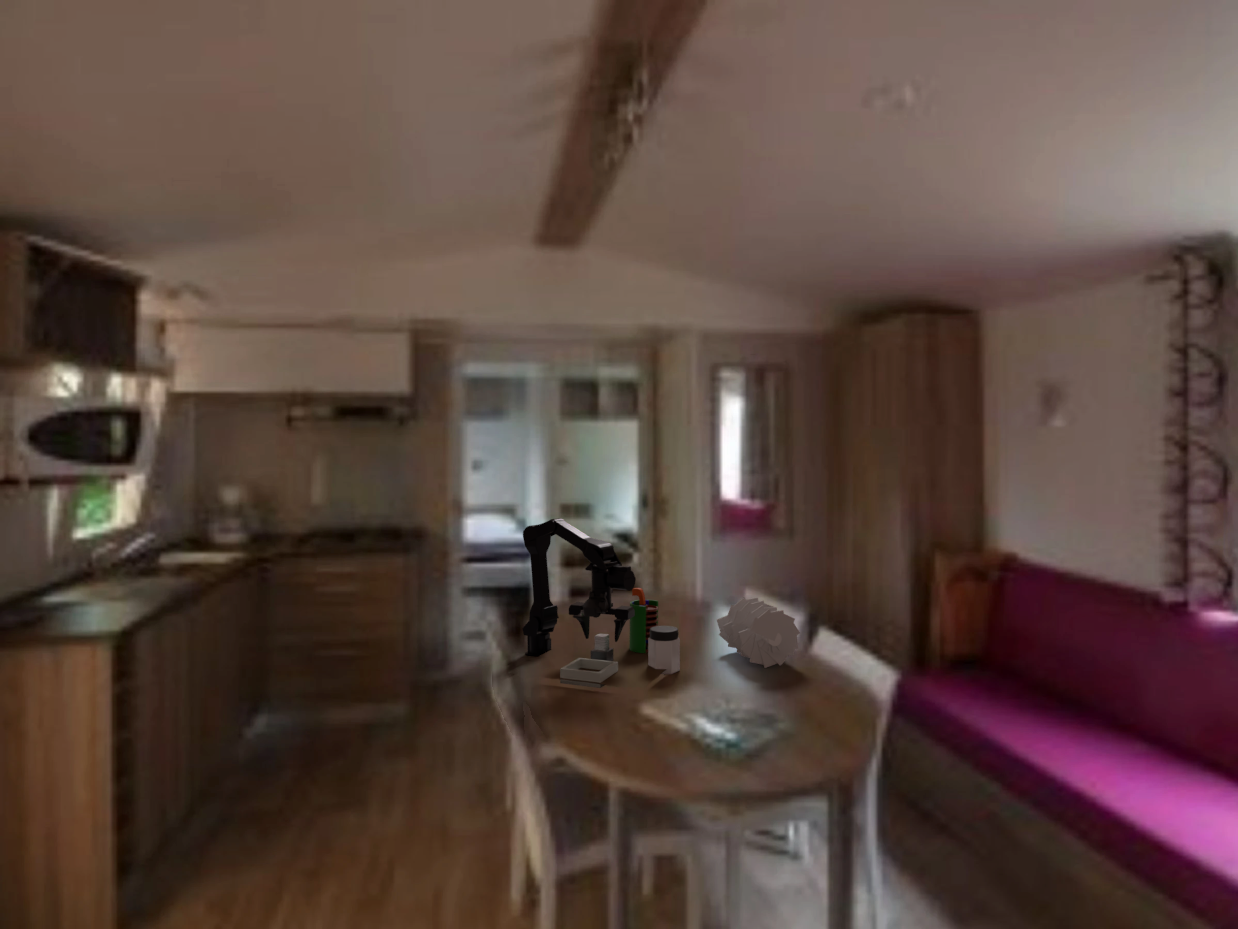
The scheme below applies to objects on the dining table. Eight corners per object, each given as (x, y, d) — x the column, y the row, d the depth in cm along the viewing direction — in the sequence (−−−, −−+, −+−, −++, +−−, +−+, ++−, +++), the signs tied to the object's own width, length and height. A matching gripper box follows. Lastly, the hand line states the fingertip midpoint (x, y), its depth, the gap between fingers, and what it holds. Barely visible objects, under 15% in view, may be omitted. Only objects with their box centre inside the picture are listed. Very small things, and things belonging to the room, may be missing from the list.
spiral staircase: (754, 661, 270) (790, 680, 246) (706, 640, 266) (737, 657, 242) (777, 607, 272) (814, 620, 248) (729, 585, 268) (762, 596, 244)
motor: (655, 658, 260) (655, 592, 259) (626, 657, 261) (626, 591, 260) (660, 650, 269) (660, 586, 269) (632, 648, 271) (632, 585, 270)
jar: (684, 672, 245) (684, 630, 244) (659, 676, 241) (659, 633, 241) (669, 664, 253) (668, 624, 252) (644, 668, 249) (644, 627, 249)
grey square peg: (590, 662, 250) (590, 636, 249) (597, 658, 254) (597, 632, 254) (606, 664, 248) (606, 638, 247) (613, 660, 252) (613, 634, 252)
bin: (560, 683, 235) (560, 668, 235) (579, 671, 246) (579, 657, 246) (600, 688, 231) (600, 673, 230) (618, 676, 242) (618, 661, 241)
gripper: (559, 589, 246) (560, 643, 247) (620, 594, 239) (620, 650, 240) (576, 582, 257) (577, 634, 257) (635, 587, 249) (635, 640, 250)
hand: (601, 640), depth 251 cm, fingers open, 9 cm apart
